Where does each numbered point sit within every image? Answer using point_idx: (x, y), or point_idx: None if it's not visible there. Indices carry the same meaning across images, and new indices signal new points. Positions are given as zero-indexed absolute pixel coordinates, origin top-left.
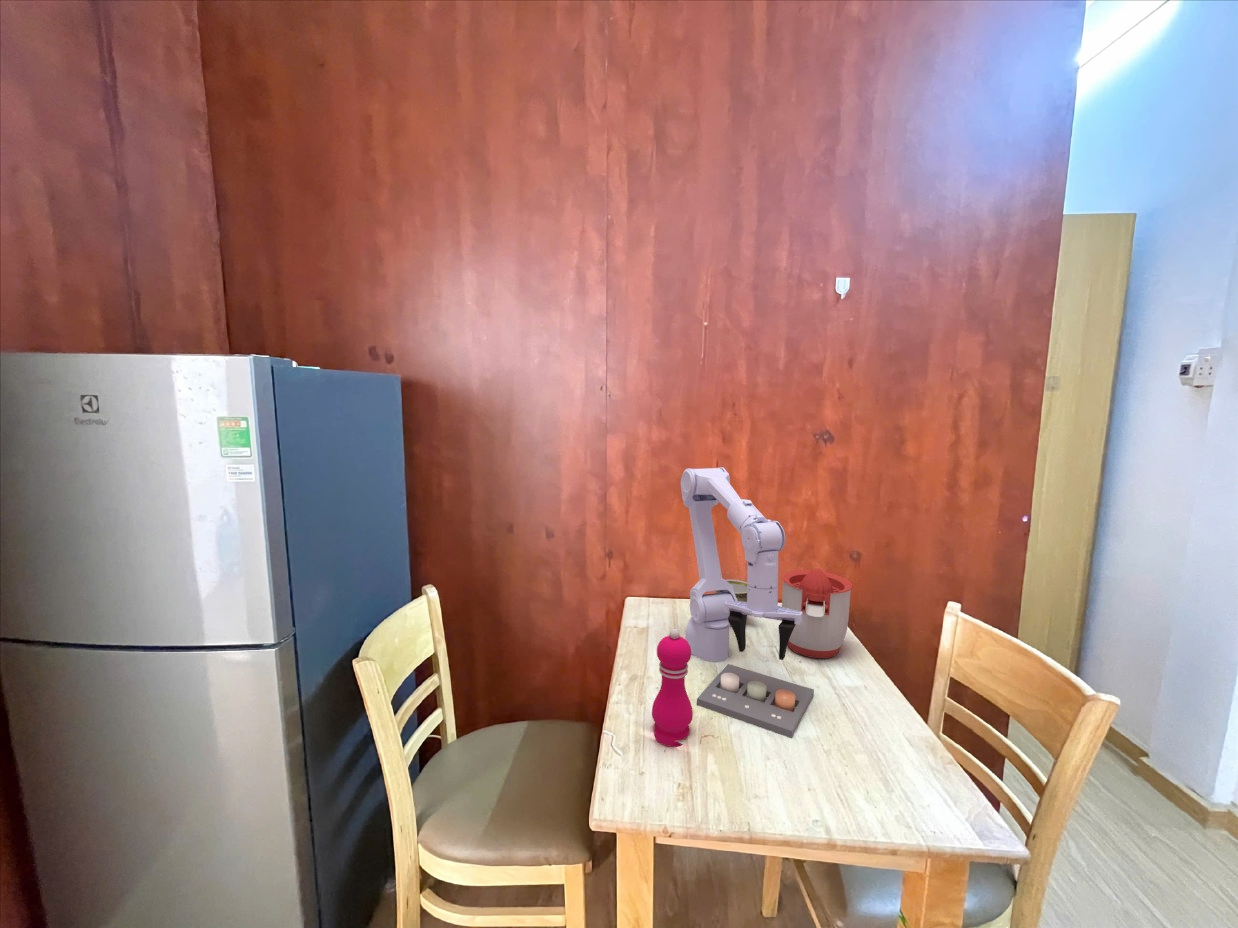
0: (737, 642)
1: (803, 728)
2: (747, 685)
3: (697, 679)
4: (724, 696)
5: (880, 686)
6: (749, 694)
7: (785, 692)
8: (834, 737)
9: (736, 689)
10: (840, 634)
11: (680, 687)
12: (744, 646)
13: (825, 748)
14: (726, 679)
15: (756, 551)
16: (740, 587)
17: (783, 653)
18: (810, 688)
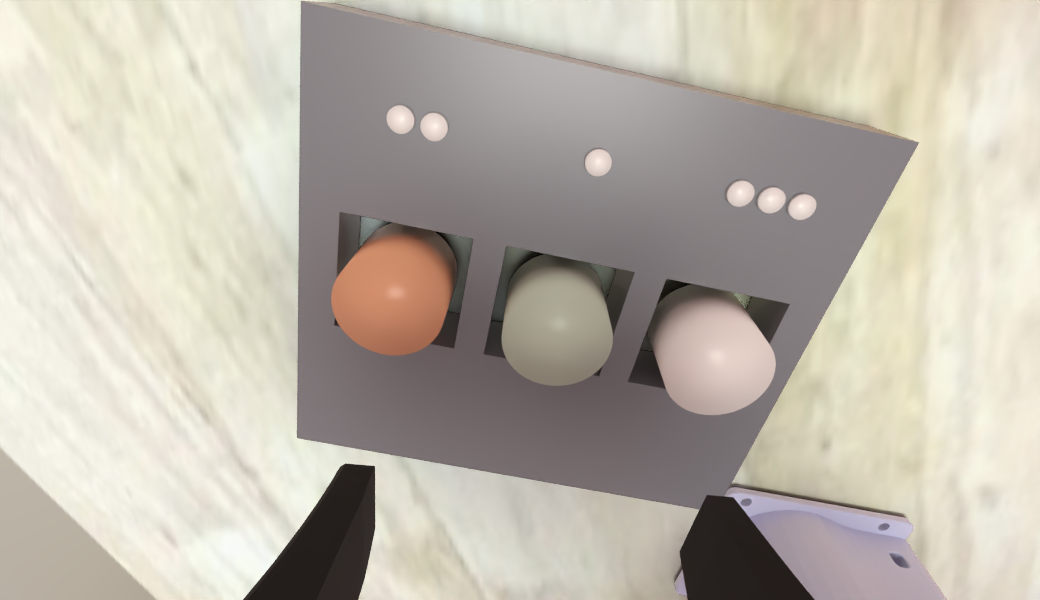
0: (792, 573)
1: None
2: (611, 329)
3: (846, 396)
4: (735, 226)
5: (125, 553)
6: (592, 284)
7: (391, 326)
8: (162, 160)
9: (666, 319)
10: None
11: None
12: (696, 561)
13: (169, 42)
14: (741, 344)
15: None
16: None
17: (310, 515)
18: (313, 439)
